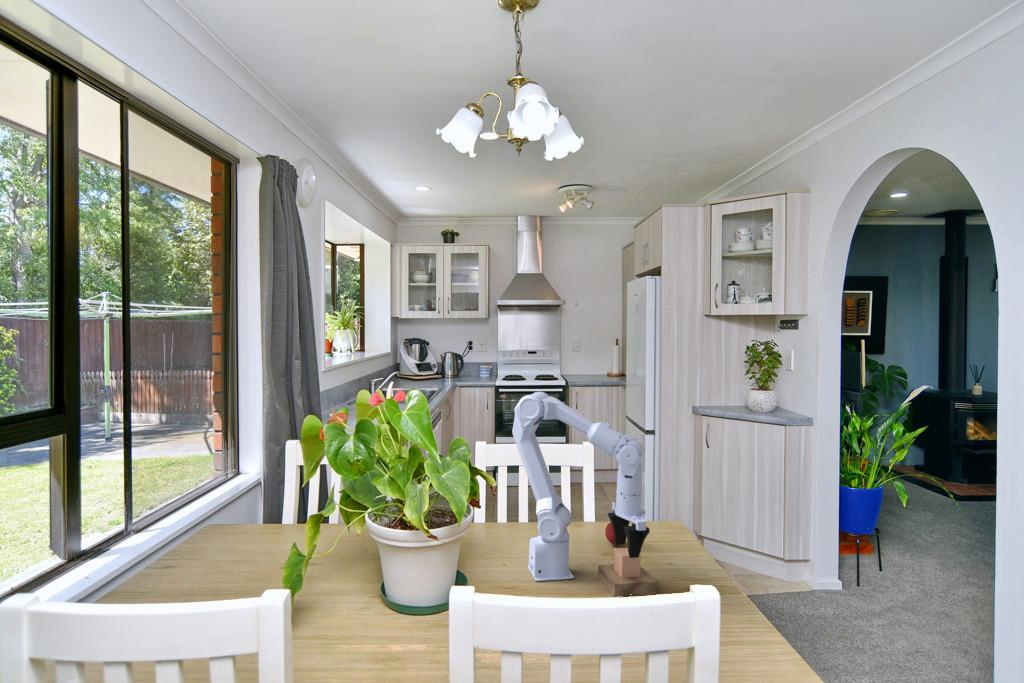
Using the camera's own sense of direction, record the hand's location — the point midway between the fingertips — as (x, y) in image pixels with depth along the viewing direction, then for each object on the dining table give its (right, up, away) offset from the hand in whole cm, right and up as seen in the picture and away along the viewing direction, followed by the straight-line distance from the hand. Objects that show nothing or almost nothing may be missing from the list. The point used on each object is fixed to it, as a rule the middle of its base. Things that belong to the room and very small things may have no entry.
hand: (627, 550), depth 127 cm
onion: (+2, -8, +24) cm, 26 cm away
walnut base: (0, -8, 0) cm, 8 cm away
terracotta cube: (0, -5, 0) cm, 5 cm away
